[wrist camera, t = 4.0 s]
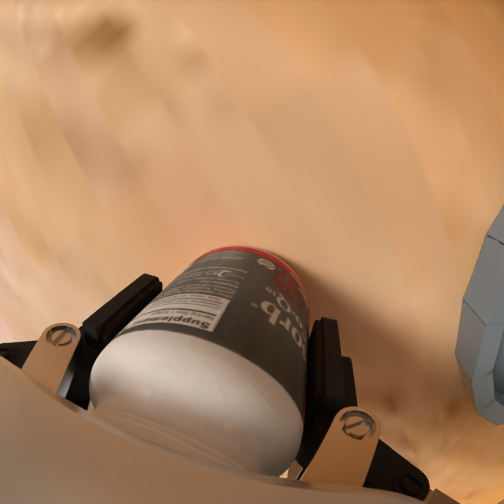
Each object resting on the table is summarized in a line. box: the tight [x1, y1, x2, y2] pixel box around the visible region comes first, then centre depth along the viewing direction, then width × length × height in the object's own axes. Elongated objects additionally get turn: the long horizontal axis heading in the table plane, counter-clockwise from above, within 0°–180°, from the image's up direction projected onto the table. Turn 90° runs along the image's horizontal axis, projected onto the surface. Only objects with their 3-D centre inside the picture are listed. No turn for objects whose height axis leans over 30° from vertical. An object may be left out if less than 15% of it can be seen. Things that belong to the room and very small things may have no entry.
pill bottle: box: [88, 245, 309, 477], centre depth 8 cm, size 6×6×10 cm
